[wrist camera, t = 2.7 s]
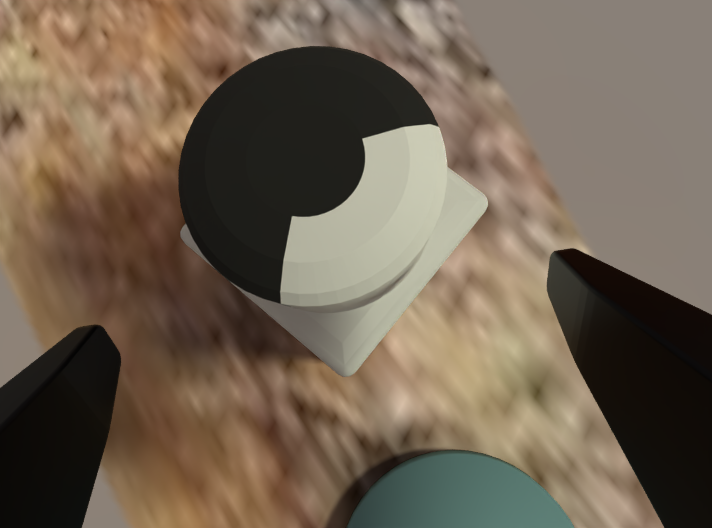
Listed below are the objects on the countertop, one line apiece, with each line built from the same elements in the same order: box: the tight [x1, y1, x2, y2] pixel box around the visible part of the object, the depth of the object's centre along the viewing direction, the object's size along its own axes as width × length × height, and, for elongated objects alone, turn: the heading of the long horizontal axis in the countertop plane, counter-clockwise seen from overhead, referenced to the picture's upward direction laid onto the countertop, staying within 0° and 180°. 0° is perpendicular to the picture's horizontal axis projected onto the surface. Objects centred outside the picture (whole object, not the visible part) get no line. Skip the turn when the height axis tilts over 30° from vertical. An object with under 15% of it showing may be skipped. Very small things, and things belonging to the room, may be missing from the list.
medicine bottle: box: [179, 46, 488, 377], centre depth 16 cm, size 7×7×12 cm
